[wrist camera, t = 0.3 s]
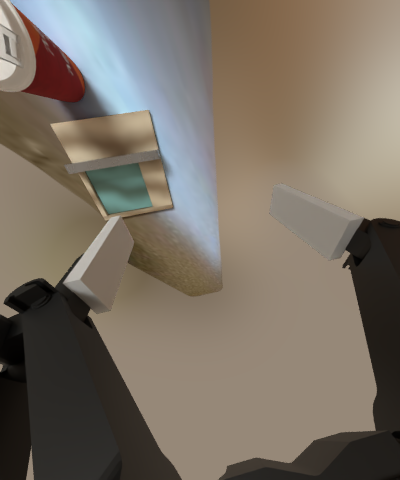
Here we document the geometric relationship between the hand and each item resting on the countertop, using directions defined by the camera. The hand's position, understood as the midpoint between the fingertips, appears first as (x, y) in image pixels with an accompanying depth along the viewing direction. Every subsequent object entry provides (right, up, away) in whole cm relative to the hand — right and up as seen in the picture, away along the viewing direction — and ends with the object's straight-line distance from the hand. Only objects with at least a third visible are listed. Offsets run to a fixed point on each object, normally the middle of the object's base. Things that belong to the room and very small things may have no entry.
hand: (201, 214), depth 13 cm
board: (-18, +13, +21) cm, 30 cm away
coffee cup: (-23, +25, +12) cm, 36 cm away
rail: (-18, +15, +19) cm, 30 cm away
